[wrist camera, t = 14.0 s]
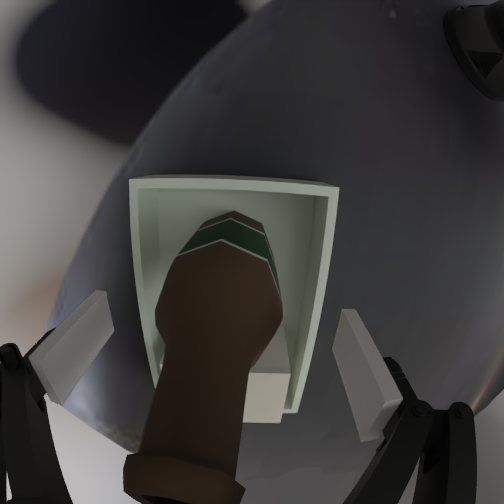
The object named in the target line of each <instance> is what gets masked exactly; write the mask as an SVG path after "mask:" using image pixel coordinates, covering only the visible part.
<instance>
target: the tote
mask: <svg viewBox="0 0 504 504" xmlns="http://www.w3.org/2000/svg"><path fill="white" fill-rule="evenodd" d="M338 195H339V187H336V186H333V185H330V184H327V183H323V182H317V181H307V180H296V179H284V178H270V177H254V176H233V175H191V174H169V175H149V176H143V177H138V178H132V179H129V201H130V225H131V241H132V253H133V264H134V273H135V282H136V290H137V297H138V304H139V311H140V317H141V323H142V329H143V335H144V340H145V345H146V350H147V355H148V360H149V364H150V369H151V373H152V377H153V382H154V386H155V389H156V385H157V382H158V379H159V375H160V372H161V370H160V365H159V363H160V361H161V358H162V356H163V354H164V351H165V343H164V341H163V339H162V337H161V335H160V333H159V331H158V329H157V327H156V326H155V308H156V305H157V302H158V299H159V296H160V293H161V290H162V287H163V284H164V282H165V279H166V276H167V273H168V270H169V268H170V267H171V265H172V263H173V261H174V259H175V257H176V256H177V255H178V253H179V252H180V251H181V249H182V248H183V247H184V246H185V244H186V243H187V242H188V241H189V240H190V238H191V237H192V236H193V235H194V233H195V232H196V231H197V230H198V228H199V227H200V226H201V225H202V224H203V223H204V222H205V221H207V220H210V219H212V218H215V217H218V216H220V215H223V214H226V213H229V212H231V211H237V212H239V213H241V214H243V215H245V216H248V217H250V218H252V219H254V220H256V221H258V222H260V223H262V225H263V227H264V230H265V233H266V236H267V238H268V241H269V244H270V247H271V250H272V253H273V255H274V260H275V265H276V270H277V276H278V281H279V287H280V292H281V297H282V303H283V320H282V322H281V324H280V326H284V332H285V339H286V345H287V351H288V358H289V365H290V371H291V375H290V380H289V385H288V390H287V395H286V399H285V404H284V408H283V413H297V411H298V408H299V404H300V400H301V397H302V393H303V389H304V385H305V381H306V377H307V373H308V369H309V365H310V361H311V357H312V353H313V348H314V344H315V339H316V335H317V330H318V325H319V320H320V315H321V310H322V305H323V300H324V294H325V288H326V283H327V277H328V271H329V265H330V258H331V251H332V244H333V237H334V230H335V222H336V214H337V205H338Z"/></svg>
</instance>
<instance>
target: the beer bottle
mask: <svg viewBox="0 0 504 504" xmlns="http://www.w3.org/2000/svg"><path fill="white" fill-rule="evenodd" d="M282 320H283V303H282V297H281V292H280V287H279V281H278V276H277V270H276V265H275V260H274V255H273V253H272V250H271V247H270V244H269V241H268V238H267V236H266V233H265V230H264V227H263V225H262V223H260V222H258V221H256V220H254V219H252V218H250V217H248V216H245V215H243V214H241V213H239V212H237V211H231V212H229V213H226V214H223V215H220V216H218V217H215V218H212V219H210V220H207V221H205V222H204V223H203V224H202V225H201V226H200V227H199V228H198V230H197V231H196V232H195V233H194V235H193V236H192V237H191V238H190V240H189V241H188V242H187V243H186V244H185V246H184V247H183V248H182V249H181V251H180V252H179V253H178V255H177V256H176V257H175V259H174V261H173V263H172V265H171V267H170V268H169V270H168V273H167V276H166V279H165V282H164V284H163V287H162V290H161V293H160V296H159V299H158V302H157V305H156V308H155V326H156V327H157V329H158V331H159V333H160V335H161V337H162V339H163V341H164V343H165V351H164V358H163V365H162V369H161V372H160V375H159V379H158V382H157V385H156V389H155V392H154V395H153V399H152V402H151V406H150V409H149V413H148V417H147V420H146V424H145V427H144V431H143V435H142V439H141V443H140V447H139V450H138V453H135V454H129V455H127V457H126V460H125V464H124V468H123V485H124V492H125V493H127V494H128V495H129V496H131V497H132V498H133V499H135V500H136V501H138V502H140V503H142V504H240V502H241V499H242V497H243V495H244V492H245V488H244V487H243V486H241V485H240V484H239V483H238V482H236V481H235V475H236V468H237V461H238V453H239V446H240V438H241V431H242V423H243V415H244V407H245V400H246V392H247V384H248V376H249V372H250V368H251V367H253V366H254V365H255V364H256V362H257V361H258V359H259V358H260V356H261V355H262V353H263V352H264V350H265V349H266V347H267V346H268V344H269V343H270V341H271V340H272V338H273V337H274V335H275V333H276V331H277V329H278V327H279V326H280V324H281V322H282Z"/></svg>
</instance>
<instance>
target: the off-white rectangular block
mask: <svg viewBox="0 0 504 504" xmlns="http://www.w3.org/2000/svg"><path fill="white" fill-rule="evenodd" d="M163 358H164V354H163V356H162V358H161V361H160V363H159V365H160V370H161V369H162V365H163ZM290 375H291V371H290V365H289V358H288V351H287V345H286V339H285V332H284V326H279V327H278V329H277V331H276V333H275V335H274V337H273V338H272V340H271V341H270V343H269V344H268V346H267V347H266V349H265V350H264V352H263V353H262V355H261V356H260V358H259V359H258V361H257V362H256V364H255V365H254V366H253V367H251V368H250V372H249V376H248V384H247V392H246V400H245V407H244V415H243V422H256V423H280V421H281V417H282V413H283V408H284V404H285V399H286V395H287V390H288V385H289V380H290Z"/></svg>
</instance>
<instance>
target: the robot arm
mask: <svg viewBox="0 0 504 504" xmlns="http://www.w3.org/2000/svg"><path fill="white" fill-rule="evenodd" d="M445 31H446V35H447V39H448V42H449V44H450V47H451V49H452V51H453V53H454V55H455V57H456V59H457V61H458V62H459V64H460V66H461V67H462V69H463V71H464V72H465V73H466V75H467V76H468V78H469V79H470V80H471V81H472V83H473V84H474V85H475V86H476V87H477V88H478V89H479V90H480V91H481V92H482V93H483V94H485V95H486V96H487V97H489V98H491V99H493V100H496V101H503V100H504V0H499V1H497V2H495V3H493V4H490V5H469V6H467V5H462V6H458V7H456V8H454V9H452V10H451V11H449V12H448V13H447V14H446V17H445ZM113 332H114V327H113V323H112V318H111V313H110V309H109V304H108V299H107V293H106V291H99V290H95V291H94V292H93V293H92V294H91V295H90V296H89V297H88V298H87V299H85V300H84V301H83V302H82V303H81V304H80V305H79V306H78V307H77V308H76V309H75V310H74V311H73V312H72V313H71V314H70V315H69V316H68V317H67V318H66V319H65V320H64V321H63V322H62V323H61V324H60V325H59V326H58V327H57V328H53V329H52V330H50V331H48V332H47V333H46V334H45V335H44V336H43V337H42V338H41V339H40V340H39V341H38V342H37V344H35V345H34V346H33V347H32V348H31V349H30V350H29V351H28V352H27V353H26V354H25V356H24V357H22V355H21V353H20V351H19V348H18V346H17V345H16V344H14V343H7V344H4V345H2V346H1V347H0V504H73V502H72V500H71V497H70V495H69V492H68V489H67V486H66V484H65V481H64V478H63V475H62V471H61V468H60V465H59V461H58V458H57V455H56V450H55V447H54V442H53V439H52V434H51V429H50V424H49V419H48V413H47V407H46V401H45V399H44V397H43V396H44V395H45V394H46V393H47V395H48V396H49V398H50V400H51V401H52V402H55V403H57V404H59V405H62V406H63V404H64V403H65V401H66V400H67V398H68V397H69V395H70V393H71V392H72V390H73V389H74V387H75V386H76V384H77V383H78V381H79V380H80V379H81V377H82V376H83V374H84V373H85V371H86V370H87V368H88V367H89V365H90V364H91V363H92V361H93V360H94V358H95V357H96V356H97V354H98V353H99V351H100V350H101V349H102V347H103V346H104V344H105V343H106V342H107V340H108V339H109V338H110V336H111V335H112V334H113ZM332 351H333V354H334V356H335V359H336V362H337V365H338V368H339V372H340V375H341V378H342V381H343V384H344V387H345V390H346V393H347V396H348V400H349V403H350V406H351V409H352V413H353V416H354V419H355V423H356V426H357V429H358V433H359V436H360V440H361V442H363V441H369V440H374V439H378V437H379V436H380V434H381V433H382V432H383V434H384V437H385V439H384V440H383V441H382V443H381V444H380V446H379V447H378V448H377V449H376V451H377V452H376V454H375V456H374V457H373V459H372V461H371V462H370V464H369V466H368V467H367V469H366V470H365V472H364V474H363V475H362V477H361V478H360V480H359V481H358V483H357V484H356V486H355V487H354V489H353V490H352V491H351V493H350V494H349V496H348V497H347V498H346V500H345V501H344V502H343V504H398V502H399V500H400V498H401V496H402V494H403V492H404V490H405V488H406V486H407V484H408V482H409V480H410V478H411V476H412V473H413V471H414V469H415V466H416V464H417V461H418V459H419V457H420V461H419V468H418V475H417V481H416V487H415V492H414V497H413V502H412V504H475V501H476V486H477V452H476V437H475V425H474V416H473V412H472V409H471V408H470V407H469V405H467V404H466V403H463V402H455V403H453V404H452V405H451V406H450V408H449V409H448V410H435V409H433V408H432V407H431V406H430V405H429V403H427V402H425V401H422V400H418V398H417V397H416V395H415V393H414V391H413V389H412V387H411V385H410V384H409V382H408V380H407V379H406V376H405V375H404V373H402V369H401V368H400V366H399V364H398V363H397V362H396V361H395V360H394V359H392V358H391V357H385V358H382V356H381V355H380V353H379V351H378V349H377V347H376V345H375V343H374V342H373V340H372V338H371V336H370V334H369V333H368V331H367V329H366V327H365V325H364V324H363V322H362V320H361V318H360V317H359V315H358V313H357V311H356V310H355V309H342V312H341V316H340V320H339V324H338V328H337V332H336V336H335V340H334V344H333V347H332ZM6 473H8V479H9V484H10V489H11V493H12V499H11V500H8V501H7V498H6Z"/></svg>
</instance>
